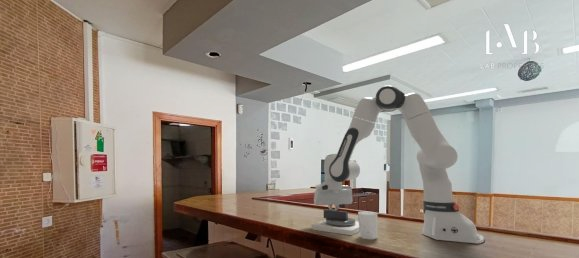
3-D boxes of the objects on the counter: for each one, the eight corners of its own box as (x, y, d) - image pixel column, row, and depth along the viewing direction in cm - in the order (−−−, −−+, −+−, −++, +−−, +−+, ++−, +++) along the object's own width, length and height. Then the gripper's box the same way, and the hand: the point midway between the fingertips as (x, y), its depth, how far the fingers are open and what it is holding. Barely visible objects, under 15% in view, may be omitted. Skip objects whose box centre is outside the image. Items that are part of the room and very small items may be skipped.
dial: (359, 222, 136) (359, 210, 137) (347, 227, 125) (347, 215, 125) (331, 218, 145) (331, 207, 146) (317, 223, 134) (317, 211, 134)
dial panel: (368, 226, 136) (368, 222, 137) (351, 235, 120) (351, 230, 121) (331, 221, 148) (331, 217, 148) (311, 229, 132) (311, 224, 132)
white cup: (379, 236, 119) (378, 212, 120) (377, 240, 112) (376, 215, 113) (360, 234, 122) (359, 210, 123) (357, 238, 115) (356, 213, 116)
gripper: (348, 184, 149) (349, 211, 148) (312, 185, 144) (312, 213, 142) (354, 185, 143) (355, 213, 142) (317, 186, 138) (317, 215, 136)
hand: (333, 213), depth 142 cm, fingers closed
